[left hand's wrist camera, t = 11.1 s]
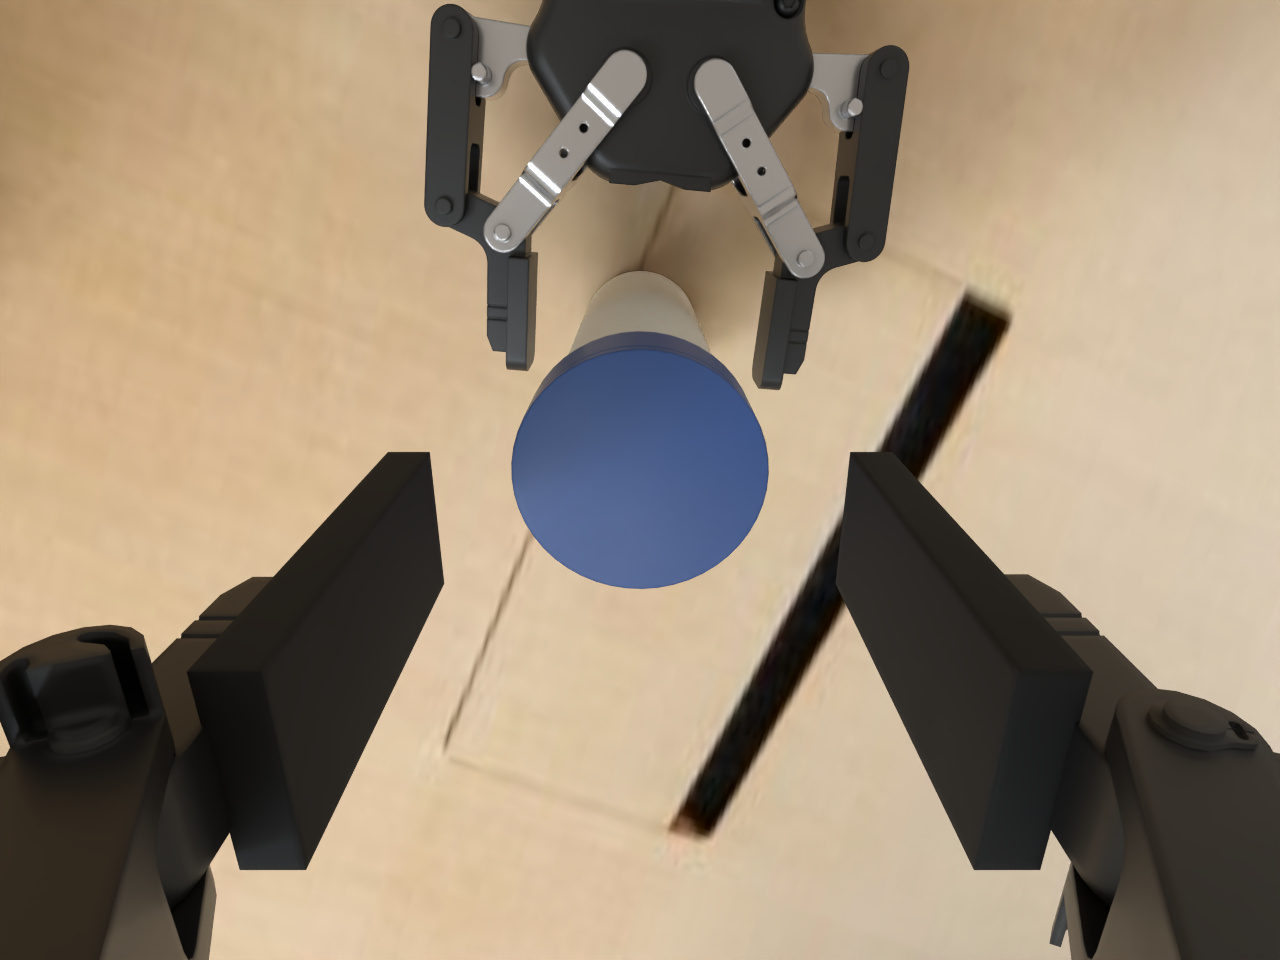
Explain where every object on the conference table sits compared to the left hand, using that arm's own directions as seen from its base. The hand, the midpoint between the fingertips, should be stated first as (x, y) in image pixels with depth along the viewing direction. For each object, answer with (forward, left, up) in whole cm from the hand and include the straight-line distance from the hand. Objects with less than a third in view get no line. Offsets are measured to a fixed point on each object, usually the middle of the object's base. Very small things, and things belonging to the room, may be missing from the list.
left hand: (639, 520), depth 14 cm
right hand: (0, 0, -13) cm, 13 cm away
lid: (0, 0, -3) cm, 3 cm away
